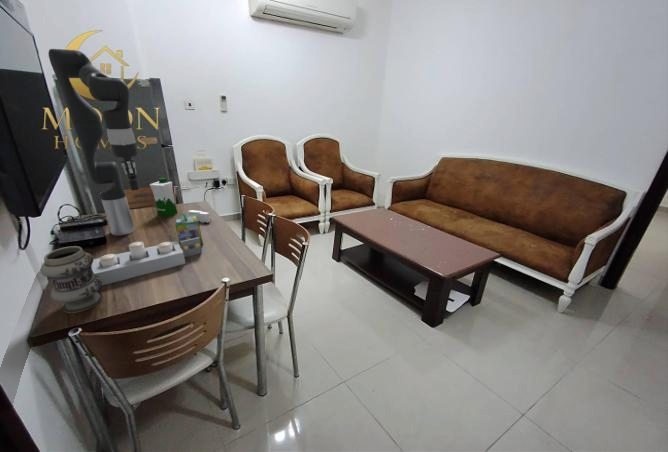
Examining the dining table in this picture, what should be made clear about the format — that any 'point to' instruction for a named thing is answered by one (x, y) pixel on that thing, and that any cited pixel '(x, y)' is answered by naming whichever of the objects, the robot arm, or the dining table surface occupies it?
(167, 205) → the milk carton
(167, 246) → the button
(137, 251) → the button
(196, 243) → the card
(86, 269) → the apothecary jar
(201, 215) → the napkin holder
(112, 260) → the button
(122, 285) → the dining table surface
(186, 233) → the chalk box
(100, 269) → the console
